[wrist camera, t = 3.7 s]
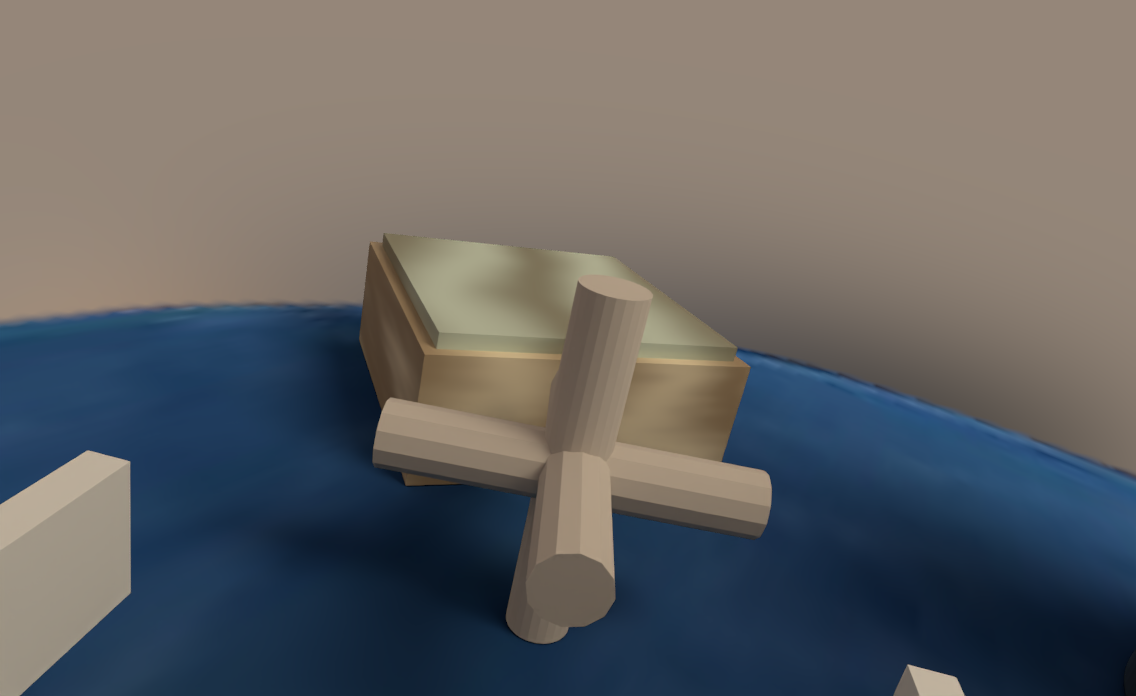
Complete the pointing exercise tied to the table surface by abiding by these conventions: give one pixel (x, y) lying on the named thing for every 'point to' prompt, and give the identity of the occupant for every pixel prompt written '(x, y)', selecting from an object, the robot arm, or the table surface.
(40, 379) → the table surface
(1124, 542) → the table surface
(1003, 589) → the table surface
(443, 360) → the lidded wooden box
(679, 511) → the pipe connector
